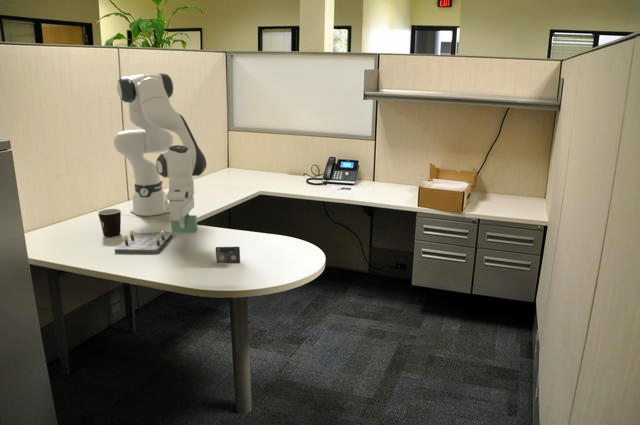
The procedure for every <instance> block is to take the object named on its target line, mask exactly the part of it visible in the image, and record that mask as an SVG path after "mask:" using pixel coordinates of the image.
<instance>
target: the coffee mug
mask: <svg viewBox="0 0 640 425" xmlns="http://www.w3.org/2000/svg"><path fill="white" fill-rule="evenodd" d="M97 213H98V218H99V222H100V225H101V226H100V227H101V230H102V235H103V237H104V238H117V237H119V236H121V229H122V228H121V224H122V223H121V219H122V218H121V217H122V216H121V214H122V210H121V209H119V208H107V209H102V210H99V211H98V212H97Z"/></svg>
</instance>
